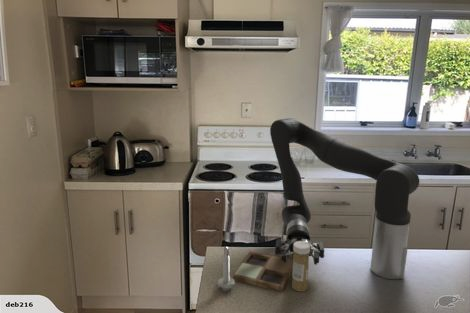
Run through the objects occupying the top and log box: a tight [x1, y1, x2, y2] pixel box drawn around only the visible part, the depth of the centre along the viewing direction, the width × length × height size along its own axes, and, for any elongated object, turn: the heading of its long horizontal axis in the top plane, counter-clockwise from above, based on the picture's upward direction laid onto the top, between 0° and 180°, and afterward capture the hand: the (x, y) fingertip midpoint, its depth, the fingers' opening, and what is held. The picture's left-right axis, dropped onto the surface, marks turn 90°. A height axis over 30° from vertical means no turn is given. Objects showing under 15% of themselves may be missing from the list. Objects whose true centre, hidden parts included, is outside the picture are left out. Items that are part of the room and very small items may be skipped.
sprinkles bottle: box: [291, 241, 310, 292], centre depth 95 cm, size 5×5×14 cm
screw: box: [217, 246, 236, 292], centre depth 95 cm, size 13×5×5 cm
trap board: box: [232, 251, 293, 293], centre depth 104 cm, size 15×15×2 cm
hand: (300, 260), depth 96 cm, fingers open, 8 cm apart
